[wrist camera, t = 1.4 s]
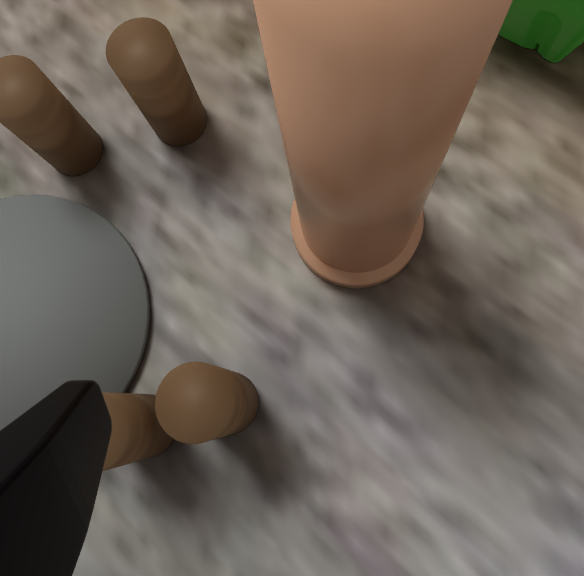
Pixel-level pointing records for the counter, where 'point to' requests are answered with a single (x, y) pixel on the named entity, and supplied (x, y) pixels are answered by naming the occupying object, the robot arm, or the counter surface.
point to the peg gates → (82, 158)
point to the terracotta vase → (369, 118)
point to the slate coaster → (65, 302)
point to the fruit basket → (545, 26)
